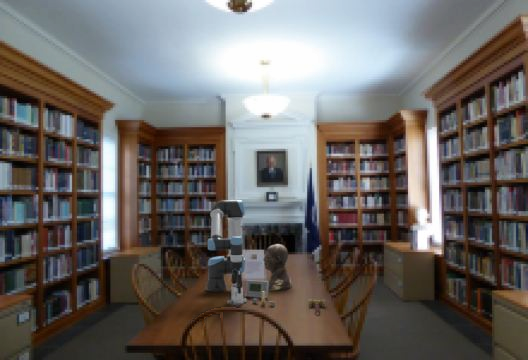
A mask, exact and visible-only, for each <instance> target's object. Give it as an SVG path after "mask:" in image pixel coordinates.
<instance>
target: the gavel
mask: <svg viewBox="0 0 528 360" xmlns="http://www.w3.org/2000/svg"><path fill="white" fill-rule="evenodd" d="M307 302H308V308H312V307H314V311H315V313H314V314H315V315H316V316H319V315H320V312H321V311H320V308H326V299H321V300H320V299H310V298H308V301H307Z"/></svg>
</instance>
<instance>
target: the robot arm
mask: <svg viewBox="0 0 528 360" xmlns="http://www.w3.org/2000/svg"><path fill="white" fill-rule="evenodd" d="M209 214H210V218H211V226H210V227H211V228H210V230H211V231H210V238H208V239H207V250H209V251H229V252H228V254H227V255H226V256H227V258H226V257H225V256H224V255H220V256H219V255H217V256H213V257H211V258H209V259H208V264H207V266H208V269H207V271H208V272H207V273H208V278H207V281H206V286H205V290H206V291H207V292H212V293H217V292H219V293H220V292H225V291H227V290H228V286H227V283H226V279H225V276H226V275H227V276H229V275H231V279H230V280H231V286H232V285H235V284H237V287H236V288H237V299H241V288H242V287H243V280H242V278H243V277H242V275H243V274H244V272H245V265H246V257H244V254H243V237H242V219H243V218H244V216H245V215H246V214H245V206H244V202H243V200H241V199H221V200H219V201H217V202H215V204H213V206H212V207H211V209H210V213H209ZM223 217H226V219H227V220H228V223H229V224H228V226H229V227H228V229H229V230H228V235H229V237H228V238H227V237H226V238H225V237H224V238H223ZM239 285H240V286H239Z"/></svg>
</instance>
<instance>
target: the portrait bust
mask: <svg viewBox="0 0 528 360" xmlns="http://www.w3.org/2000/svg"><path fill="white" fill-rule="evenodd" d="M288 257H289V251H288V249H287V247H286V246H284V245H283V244H280V243H276V244H272V245H270V246H268V247H267V249H266V250H265V256H264V257H263V261H264V267H265V269H266V270H268V271H269V272H270V276H269V279H268V280H267V281H268V282H269V289H268V291H282V290H283V289H284V290H287V289H288V290H289V289H290V288H291V287H292V280H291V276H290V273H289V272H288V269H287V268H288V267H286V264H287V261H288Z"/></svg>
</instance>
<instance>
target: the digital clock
mask: <svg viewBox="0 0 528 360" xmlns="http://www.w3.org/2000/svg"><path fill="white" fill-rule="evenodd" d="M268 289H269V282H268V280H257V279H247V280H246V284H245V293H244V295H245V297H248V298H253V297H254V298H256V299H261V291H265V299H268V297H269V290H268ZM254 298H253V299H254Z"/></svg>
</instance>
